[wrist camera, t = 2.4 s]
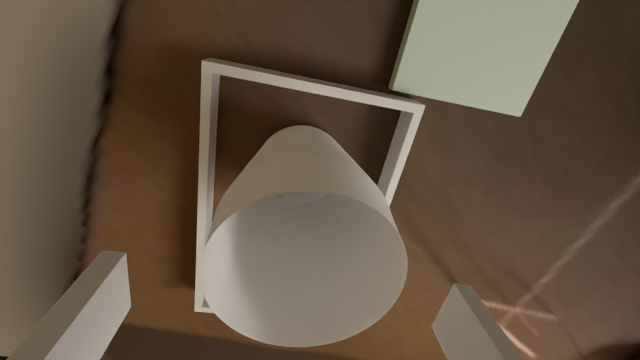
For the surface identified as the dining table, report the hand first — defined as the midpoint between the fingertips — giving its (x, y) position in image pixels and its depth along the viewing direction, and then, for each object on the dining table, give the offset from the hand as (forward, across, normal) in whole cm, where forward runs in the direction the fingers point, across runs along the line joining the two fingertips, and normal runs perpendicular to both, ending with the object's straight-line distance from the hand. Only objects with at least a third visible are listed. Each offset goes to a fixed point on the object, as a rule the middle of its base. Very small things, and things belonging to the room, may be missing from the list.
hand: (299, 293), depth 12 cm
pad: (+12, +10, +12) cm, 20 cm away
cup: (+13, 0, 0) cm, 13 cm away
